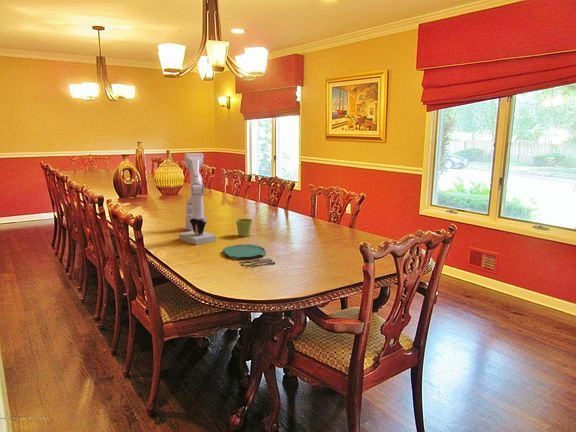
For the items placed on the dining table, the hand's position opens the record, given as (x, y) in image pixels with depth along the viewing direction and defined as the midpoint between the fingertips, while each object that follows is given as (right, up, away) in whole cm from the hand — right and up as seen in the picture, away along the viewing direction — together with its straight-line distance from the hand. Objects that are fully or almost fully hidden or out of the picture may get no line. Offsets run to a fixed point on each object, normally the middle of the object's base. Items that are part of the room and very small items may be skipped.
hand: (198, 233), depth 222 cm
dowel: (0, -3, +1) cm, 3 cm away
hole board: (-1, -4, +1) cm, 4 cm away
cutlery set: (+28, -10, -25) cm, 39 cm away
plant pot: (+22, -2, +12) cm, 26 cm away
